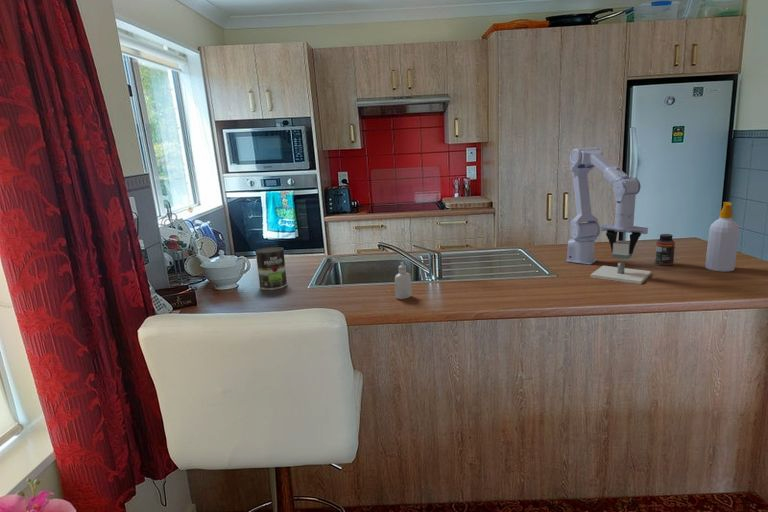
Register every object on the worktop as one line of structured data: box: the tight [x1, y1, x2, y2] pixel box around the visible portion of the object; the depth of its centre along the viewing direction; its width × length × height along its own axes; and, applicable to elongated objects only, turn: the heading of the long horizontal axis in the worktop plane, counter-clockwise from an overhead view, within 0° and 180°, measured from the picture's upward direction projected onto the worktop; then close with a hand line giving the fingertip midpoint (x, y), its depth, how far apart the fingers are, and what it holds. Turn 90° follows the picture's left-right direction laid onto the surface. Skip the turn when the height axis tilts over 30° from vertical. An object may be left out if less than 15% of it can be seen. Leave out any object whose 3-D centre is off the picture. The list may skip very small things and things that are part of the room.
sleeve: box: [612, 240, 633, 260], centre depth 162 cm, size 5×5×5 cm
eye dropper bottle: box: [394, 261, 412, 300], centre depth 153 cm, size 4×6×12 cm
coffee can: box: [255, 246, 288, 291], centre depth 174 cm, size 10×10×14 cm
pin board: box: [590, 262, 652, 285], centre depth 164 cm, size 16×14×4 cm
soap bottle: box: [704, 201, 740, 273], centre depth 163 cm, size 9×9×24 cm
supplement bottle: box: [654, 233, 676, 267], centre depth 174 cm, size 6×6×11 cm
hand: (622, 252), depth 162 cm, fingers closed on sleeve, 5 cm apart
